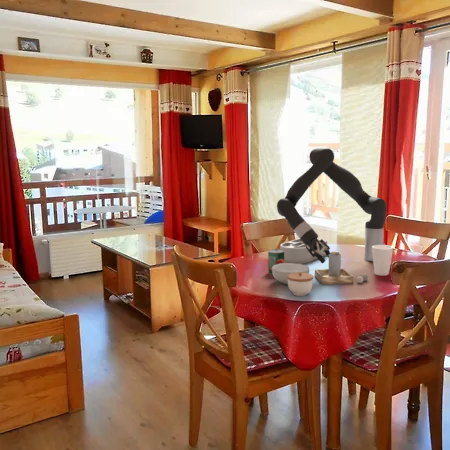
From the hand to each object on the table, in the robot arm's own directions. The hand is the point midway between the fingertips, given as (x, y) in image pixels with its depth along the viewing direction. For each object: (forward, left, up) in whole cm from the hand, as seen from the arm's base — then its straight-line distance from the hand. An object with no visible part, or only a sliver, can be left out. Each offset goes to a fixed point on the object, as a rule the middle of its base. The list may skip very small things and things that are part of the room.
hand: (328, 260), depth 216 cm
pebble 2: (-15, +6, -9) cm, 18 cm away
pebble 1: (-12, +9, -9) cm, 17 cm away
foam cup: (-27, -5, -9) cm, 29 cm away
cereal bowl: (+18, +4, -9) cm, 20 cm away
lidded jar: (+17, +21, -9) cm, 28 cm away
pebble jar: (-2, +2, -8) cm, 9 cm away
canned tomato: (+22, -13, -9) cm, 27 cm away
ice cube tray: (+4, -42, -9) cm, 43 cm away
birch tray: (-2, +2, -9) cm, 9 cm away
